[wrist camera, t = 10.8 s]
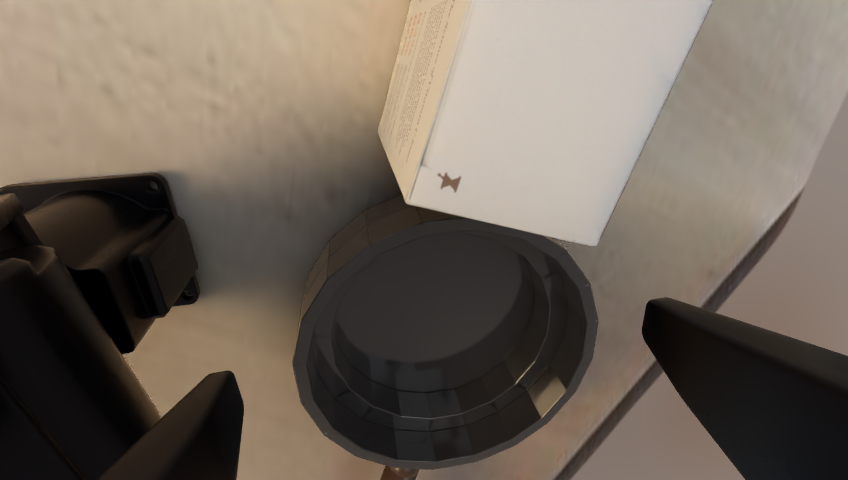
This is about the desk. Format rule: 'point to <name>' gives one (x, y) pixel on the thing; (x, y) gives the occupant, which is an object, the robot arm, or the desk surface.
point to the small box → (531, 106)
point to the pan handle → (399, 473)
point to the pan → (439, 336)
